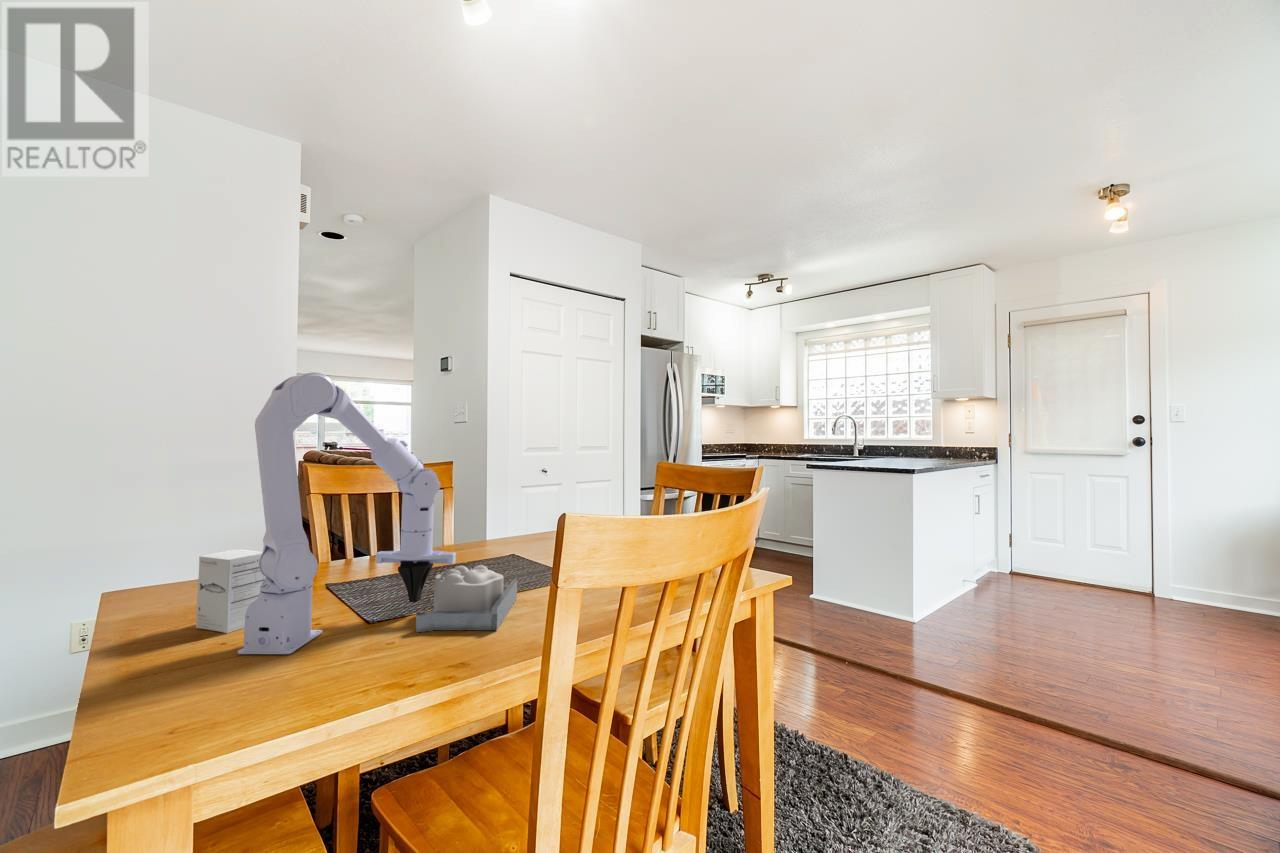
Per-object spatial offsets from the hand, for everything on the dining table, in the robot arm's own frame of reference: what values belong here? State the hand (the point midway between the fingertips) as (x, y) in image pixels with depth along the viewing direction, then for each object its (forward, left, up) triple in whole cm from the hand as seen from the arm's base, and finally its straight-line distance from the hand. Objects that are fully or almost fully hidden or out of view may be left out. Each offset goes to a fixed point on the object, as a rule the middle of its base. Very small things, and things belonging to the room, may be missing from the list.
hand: (414, 600), depth 103 cm
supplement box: (-7, +29, -3) cm, 30 cm away
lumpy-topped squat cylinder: (0, -10, -3) cm, 10 cm away
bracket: (0, -11, -2) cm, 11 cm away
